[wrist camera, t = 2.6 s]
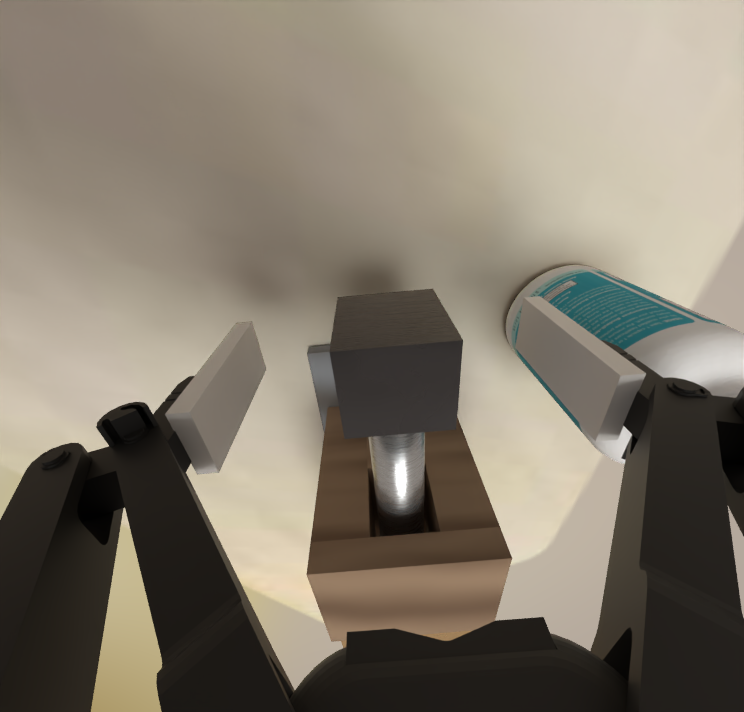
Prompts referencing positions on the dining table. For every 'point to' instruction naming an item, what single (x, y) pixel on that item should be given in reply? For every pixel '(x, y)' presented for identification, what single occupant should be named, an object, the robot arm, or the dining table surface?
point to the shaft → (396, 391)
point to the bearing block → (401, 536)
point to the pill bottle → (638, 334)
